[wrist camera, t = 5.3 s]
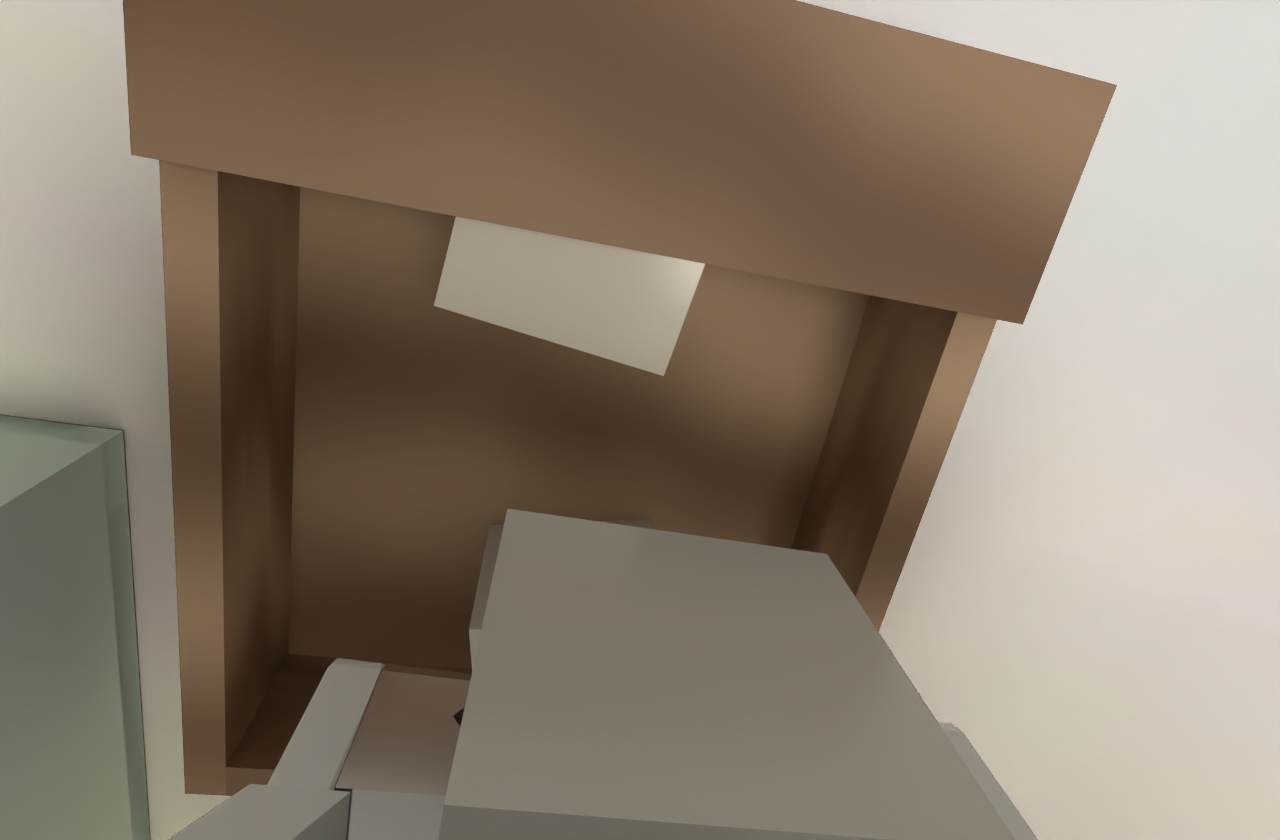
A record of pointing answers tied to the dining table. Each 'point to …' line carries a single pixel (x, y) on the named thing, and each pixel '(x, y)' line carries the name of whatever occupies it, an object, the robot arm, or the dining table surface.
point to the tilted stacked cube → (692, 700)
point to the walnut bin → (533, 367)
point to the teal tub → (68, 638)
